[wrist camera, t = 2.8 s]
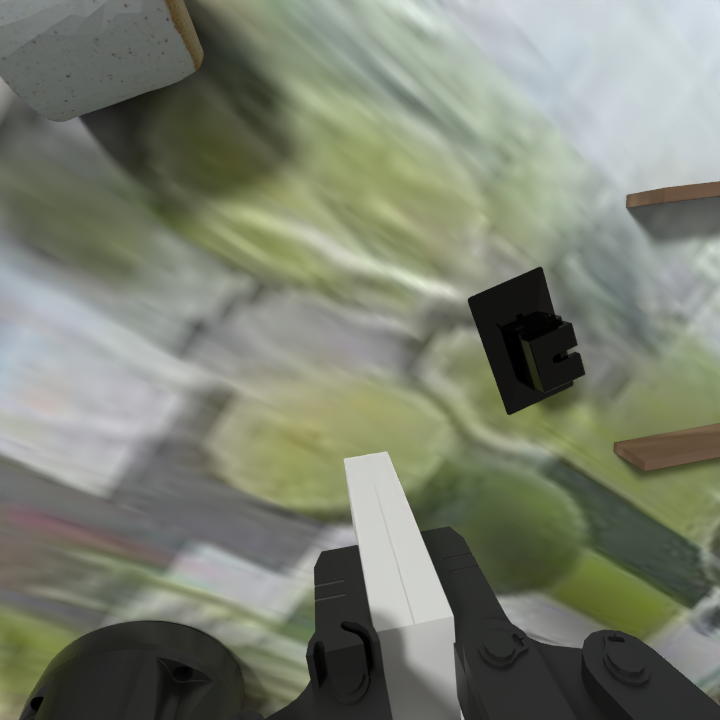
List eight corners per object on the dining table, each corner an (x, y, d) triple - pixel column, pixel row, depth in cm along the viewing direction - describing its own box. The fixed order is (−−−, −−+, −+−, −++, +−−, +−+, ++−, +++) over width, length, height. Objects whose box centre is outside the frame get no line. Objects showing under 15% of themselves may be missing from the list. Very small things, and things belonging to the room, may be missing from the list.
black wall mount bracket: (582, 396, 31) (629, 420, 27) (496, 435, 31) (529, 466, 27) (541, 240, 28) (587, 239, 23) (444, 284, 28) (471, 290, 23)
